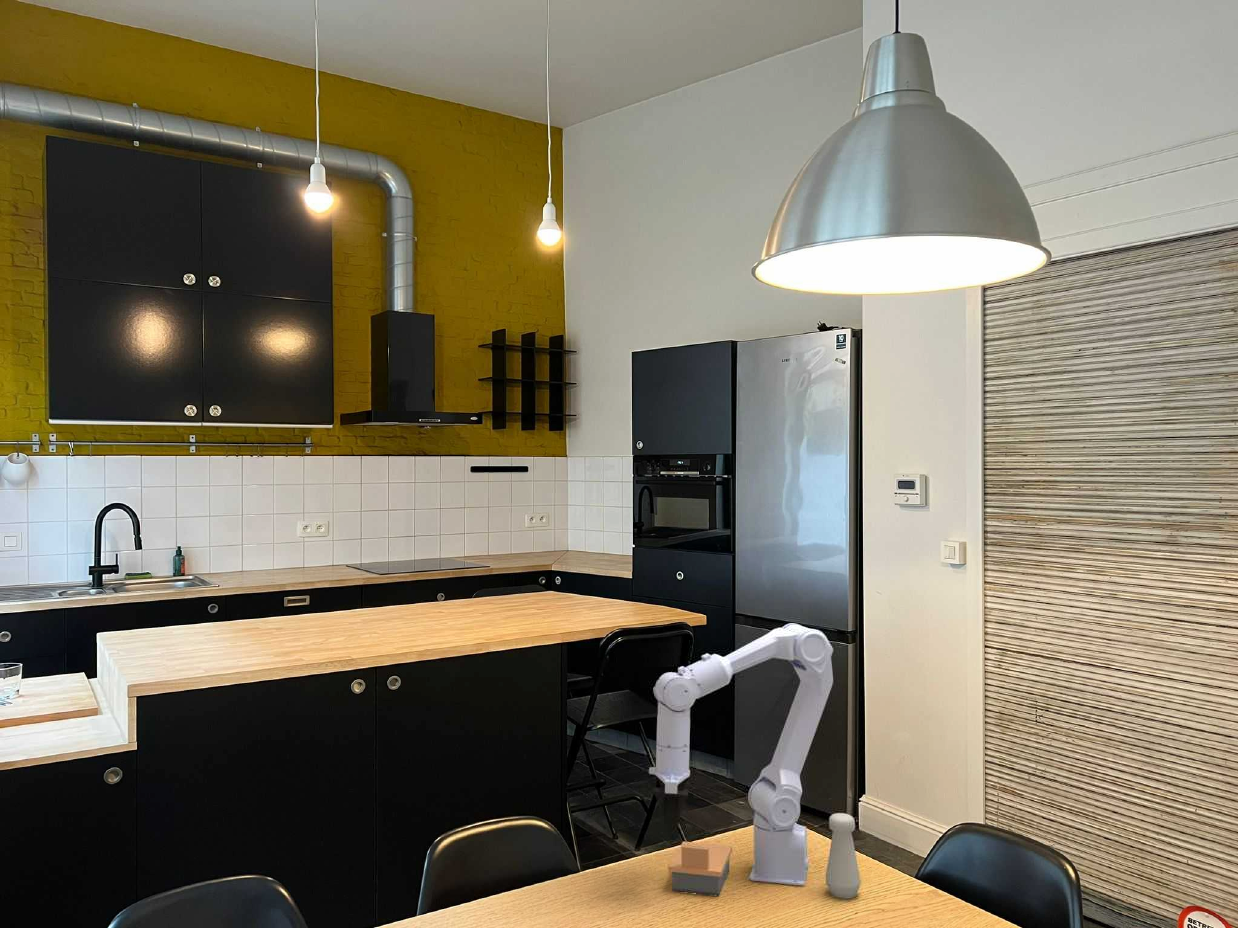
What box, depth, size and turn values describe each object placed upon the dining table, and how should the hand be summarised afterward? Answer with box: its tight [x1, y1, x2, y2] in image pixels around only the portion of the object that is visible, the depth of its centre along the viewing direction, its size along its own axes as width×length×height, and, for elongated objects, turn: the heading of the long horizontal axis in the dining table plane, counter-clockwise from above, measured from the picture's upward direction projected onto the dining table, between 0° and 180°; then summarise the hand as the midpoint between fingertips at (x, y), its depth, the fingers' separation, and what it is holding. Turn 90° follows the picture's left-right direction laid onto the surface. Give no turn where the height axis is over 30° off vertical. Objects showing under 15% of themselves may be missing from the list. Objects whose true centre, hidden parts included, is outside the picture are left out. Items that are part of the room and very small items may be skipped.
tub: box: [671, 859, 730, 897], centre depth 161 cm, size 8×11×4 cm
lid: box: [667, 841, 733, 877], centre depth 161 cm, size 9×12×5 cm
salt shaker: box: [825, 812, 862, 900], centre depth 156 cm, size 6×6×13 cm
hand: (671, 823), depth 160 cm, fingers open, 7 cm apart
